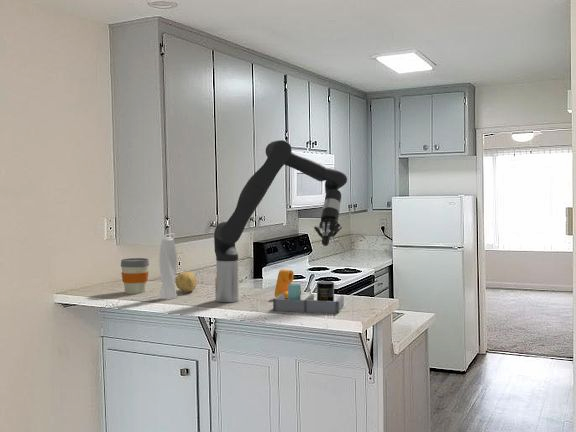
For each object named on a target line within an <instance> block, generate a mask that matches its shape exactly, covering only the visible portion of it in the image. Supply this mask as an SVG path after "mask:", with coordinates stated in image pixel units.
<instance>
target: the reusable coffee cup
mask: <svg viewBox="0 0 576 432" xmlns="http://www.w3.org/2000/svg"><path fill="white" fill-rule="evenodd" d="M149 263H150V262H149V258H145V257H143V258H142V257H135V258H134V257H133V258H124V259H123V258H122V259H120V267H121V273H120V274H121V278H122V282H123V285H124V294H127V295H128V294H129V295H138V294H144V293H146V291H147V290H146V287H147V282H148V280H149V279H148V278H149V271H148V270H149V265H150V264H149Z"/></svg>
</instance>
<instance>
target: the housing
mask: <svg viewBox="0 0 576 432" xmlns="http://www.w3.org/2000/svg"><path fill="white" fill-rule="evenodd" d="M301 287H302V285H301V284H298V283H291V284H289V285H288V299H286V298H285V293H281V294H280V295H279V296H277V297H274V298H273V299H272V301H273V302H272V310H273V311H275V312H295V313H296V312H299V313H300V312H301V313H321V314H322V313H323V314H339V313H340V312H341V311H342V309H343V308H344V307H343V306H345V305H344V303H345V302H344V298H345V296H344V295H339V297H338V298H337V299H336V300H334V301H317V299H316V300H314V298H315V294H311V293H310V295H308V296H307V297H306V298H305V299H301V295H302V290H301V289H302V288H301ZM340 310H341V311H340Z"/></svg>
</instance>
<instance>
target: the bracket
mask: <svg viewBox="0 0 576 432" xmlns="http://www.w3.org/2000/svg"><path fill="white" fill-rule="evenodd" d="M294 278H295V273H294V271H293V270H290V269H280V270H279V271H278V274H277V280H276V283H275V290H274V298H276V297H277V296H279V295H280V294H281V293H285V299H288V285H289V284H292V283H293V281H294Z"/></svg>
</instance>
